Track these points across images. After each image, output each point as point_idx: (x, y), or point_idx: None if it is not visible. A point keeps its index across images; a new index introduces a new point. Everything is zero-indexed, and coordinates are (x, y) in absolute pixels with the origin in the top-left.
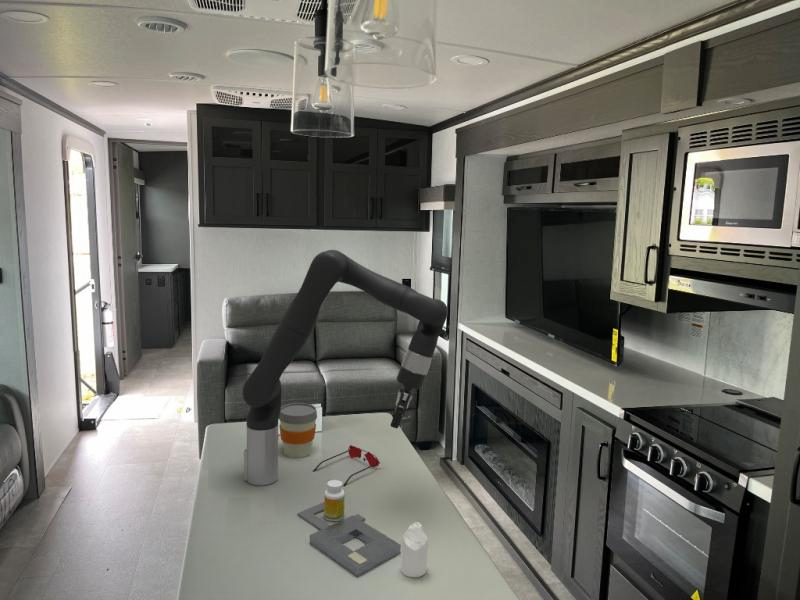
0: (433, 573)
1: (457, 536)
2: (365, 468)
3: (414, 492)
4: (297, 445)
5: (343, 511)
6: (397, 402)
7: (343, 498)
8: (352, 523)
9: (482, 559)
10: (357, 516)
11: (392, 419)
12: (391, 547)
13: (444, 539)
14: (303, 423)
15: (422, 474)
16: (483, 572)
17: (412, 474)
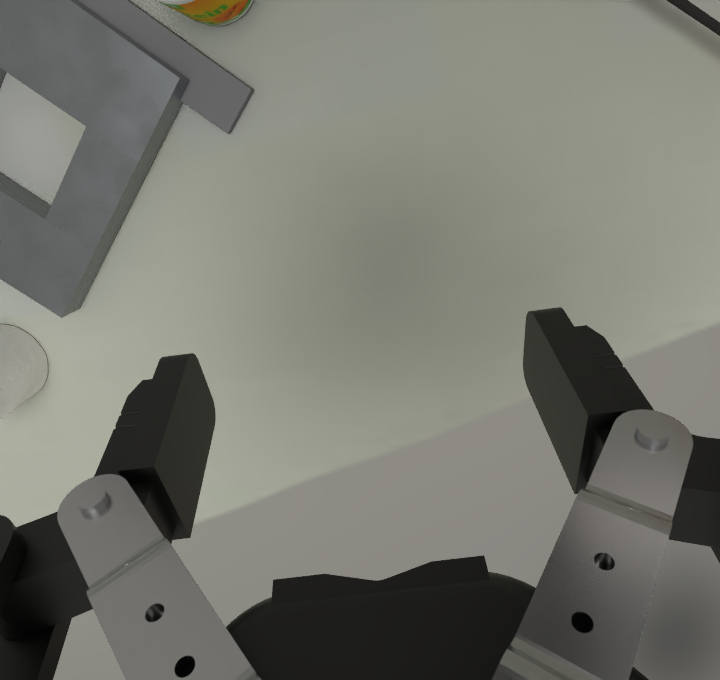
0: (28, 414)
1: (239, 470)
2: (686, 5)
3: (515, 300)
4: None
5: (202, 20)
6: (102, 618)
7: (169, 5)
8: (118, 97)
9: None
10: (231, 94)
11: (143, 406)
12: (33, 289)
13: None
14: None
15: (703, 313)
16: None
17: (700, 267)
